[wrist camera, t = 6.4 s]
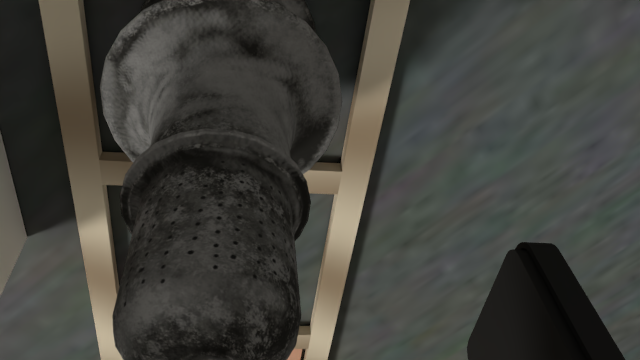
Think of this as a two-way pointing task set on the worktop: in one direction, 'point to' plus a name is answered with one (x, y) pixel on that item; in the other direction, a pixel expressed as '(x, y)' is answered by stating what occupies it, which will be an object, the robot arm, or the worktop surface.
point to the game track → (110, 167)
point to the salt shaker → (216, 173)
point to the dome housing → (9, 221)
